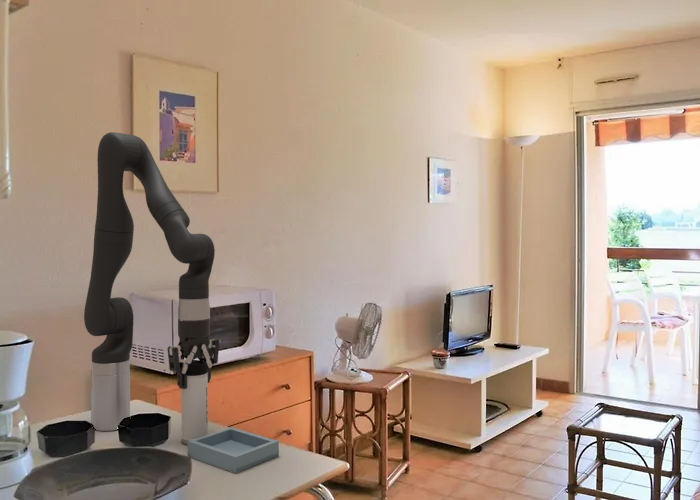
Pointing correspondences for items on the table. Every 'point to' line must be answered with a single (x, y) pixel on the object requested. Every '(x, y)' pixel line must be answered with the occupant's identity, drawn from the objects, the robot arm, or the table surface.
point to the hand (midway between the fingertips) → (194, 385)
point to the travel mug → (195, 402)
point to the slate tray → (233, 449)
